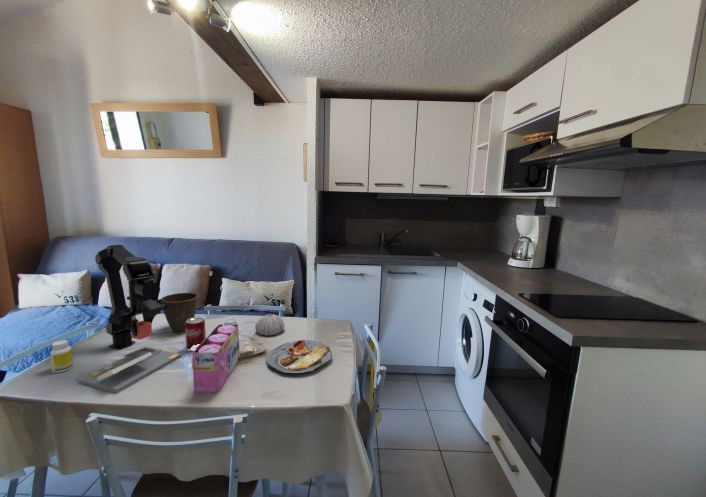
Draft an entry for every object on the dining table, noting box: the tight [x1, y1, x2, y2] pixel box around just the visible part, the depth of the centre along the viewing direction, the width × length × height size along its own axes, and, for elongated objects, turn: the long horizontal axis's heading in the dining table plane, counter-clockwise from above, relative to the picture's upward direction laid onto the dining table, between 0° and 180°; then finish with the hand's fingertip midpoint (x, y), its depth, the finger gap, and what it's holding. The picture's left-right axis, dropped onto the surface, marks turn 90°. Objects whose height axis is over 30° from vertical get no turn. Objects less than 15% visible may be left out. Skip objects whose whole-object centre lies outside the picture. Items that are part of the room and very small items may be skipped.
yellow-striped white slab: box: [97, 352, 152, 381], centre depth 101 cm, size 8×13×1 cm, turn 163°
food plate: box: [265, 339, 333, 374], centre depth 117 cm, size 25×23×4 cm
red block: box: [131, 320, 153, 340], centre depth 113 cm, size 4×4×6 cm
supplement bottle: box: [49, 339, 74, 374], centre depth 105 cm, size 5×5×10 cm
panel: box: [77, 349, 182, 394], centre depth 107 cm, size 17×24×3 cm
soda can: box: [184, 316, 207, 350], centre depth 123 cm, size 7×7×12 cm
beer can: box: [223, 318, 238, 326], centre depth 123 cm, size 5×5×12 cm
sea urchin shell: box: [255, 314, 285, 336], centre depth 142 cm, size 13×14×8 cm
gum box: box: [191, 323, 240, 394], centre depth 106 cm, size 24×8×14 cm, turn 4°
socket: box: [124, 345, 162, 363], centre depth 114 cm, size 8×8×1 cm
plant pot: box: [160, 292, 199, 334], centre depth 140 cm, size 15×15×16 cm
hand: (141, 333), depth 113 cm, fingers closed on red block, 4 cm apart
